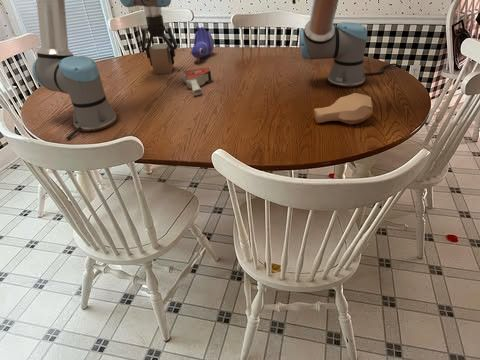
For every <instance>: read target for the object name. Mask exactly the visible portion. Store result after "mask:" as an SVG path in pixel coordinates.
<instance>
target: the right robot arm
mask: <svg viewBox="0 0 480 360" xmlns="http://www.w3.org/2000/svg"><path fill="white" fill-rule="evenodd" d="M291 2H292V4H293V5H296V0H292V1H291ZM338 4H339V0H313V1H312V6H311V12H310V17H309V20H308V21H307V22H306V24H305V25H304V28H301V29H300V30H299V34H298V35H299V49H300V56H301V58H302V59H303V60H310V61H314V60H329V59H333V64H332V67H331V69H330V71H329V74H328V76H327V83H329V84H330V85H331V86H334V87H337V88H345V89H352V88H359V87H361V86H363V85H364V84H365V81H366V76H372V75H373V76H375V75H380V74H383V73H384V72H385V71H384V70H385V68H388V67H391V66H395V67H397V68H400V67H401V66H400V65H399V64H398V63H388V64H386V65H383V66H382V67H381V70H380V71H376V72H365V70H364V58H365V52H366V45H367V41H368V29H367V27H366V26H365V25H363V24H361V23H357V22H350V21H341V22H338V24H337V26H336V27H335V25H334V22H335V21H334V20H335V18H336V17H335V16H336V12H337V8H338Z"/></svg>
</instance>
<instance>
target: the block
mask: <svg viewBox="0 0 480 360" xmlns="http://www.w3.org/2000/svg"><path fill="white" fill-rule="evenodd" d="M170 50H171V49H170V48H169V46H168V45H167V44H166V43H154V44H151V46H150V49H149V52H150V57H151V62H152V66H151V67H152V71H153V75H168V74H169V75H171V74H172V72H173V69H174V65H172V62H171V56H170Z"/></svg>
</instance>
